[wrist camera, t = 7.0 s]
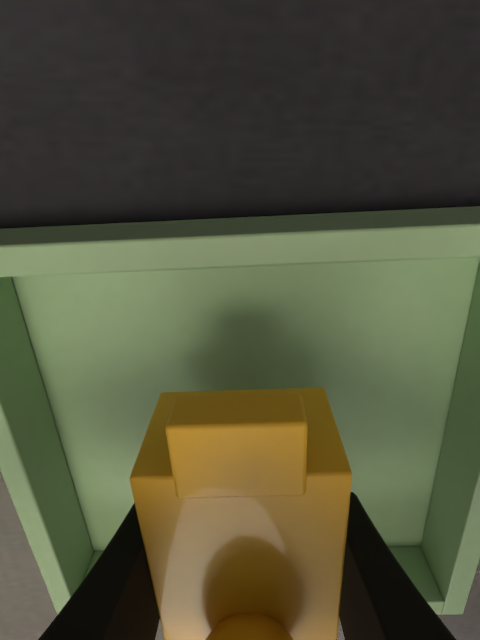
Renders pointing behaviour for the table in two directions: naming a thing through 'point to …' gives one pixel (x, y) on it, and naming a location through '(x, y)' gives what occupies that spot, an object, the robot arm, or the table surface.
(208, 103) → the table surface
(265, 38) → the table surface
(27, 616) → the table surface
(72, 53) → the table surface
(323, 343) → the tray
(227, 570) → the toy duck
